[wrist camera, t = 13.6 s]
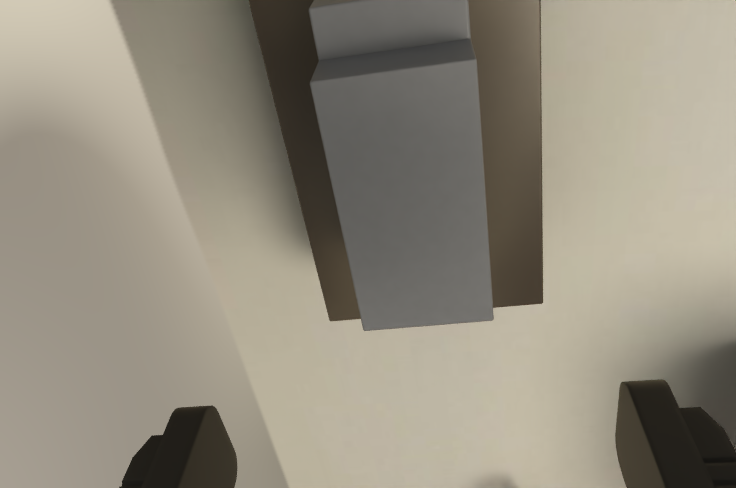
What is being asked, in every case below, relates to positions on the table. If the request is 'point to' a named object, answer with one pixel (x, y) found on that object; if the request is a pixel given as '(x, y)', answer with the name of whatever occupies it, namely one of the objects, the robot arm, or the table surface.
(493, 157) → the low shelf
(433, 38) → the stepped grey block
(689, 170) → the table surface
